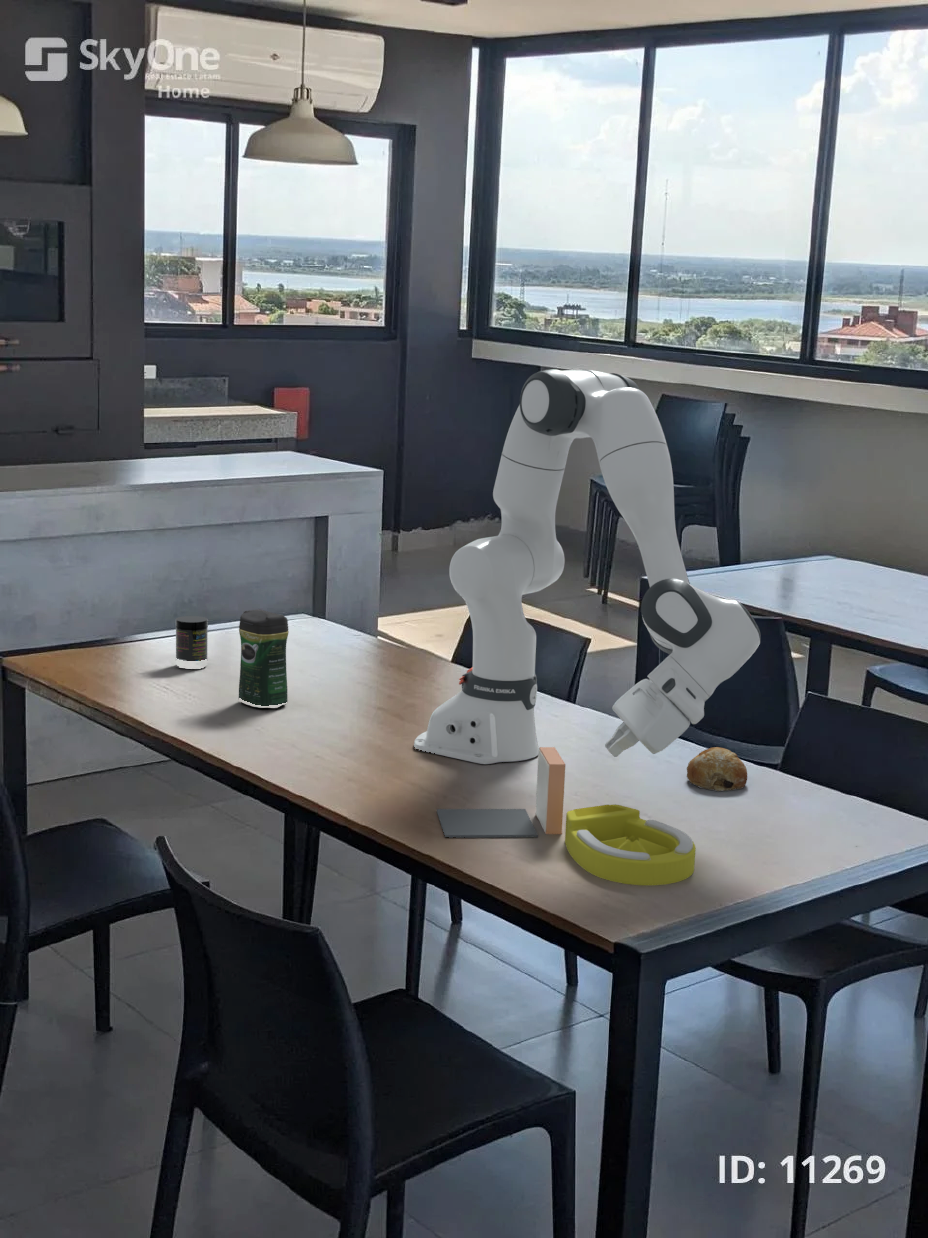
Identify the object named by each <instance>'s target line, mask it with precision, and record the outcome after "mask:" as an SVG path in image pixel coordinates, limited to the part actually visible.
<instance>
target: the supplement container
mask: <svg viewBox="0 0 928 1238" xmlns="http://www.w3.org/2000/svg"><path fill="white" fill-rule="evenodd" d="M208 621H209V620H208V617H205V616H198V615H183V616H179V617H176V618H175V659H176V658H177V659H179V660H183V661H201V660H205V659H207V660H208V639H209V638H208V633H209V632H208V626H209V625H208V624H209V622H208Z"/></svg>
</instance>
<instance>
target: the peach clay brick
mask: <svg viewBox="0 0 928 1238" xmlns="http://www.w3.org/2000/svg"><path fill="white" fill-rule="evenodd" d="M537 756H538V758H537V778H536V794H535V795H536V796H535V816H536V818H537V819H538V821H539V824H540V825H541V828H542V830H543V832H544V833H545V835H562V834H563V833H562V832H563V817H564V816H563V815H564V798H565V796H564V795H565V782H566V781H565V780H566V778H565V777H566V763H565V761H564V759H563V758H562V756H561V755H560V753H559V752H558V750H557V749H556V747H555V746H545V747H544V746H539V754H538V755H537Z"/></svg>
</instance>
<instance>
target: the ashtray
mask: <svg viewBox="0 0 928 1238" xmlns="http://www.w3.org/2000/svg"><path fill="white" fill-rule="evenodd" d="M640 813H641V812H640V810H639V809H636V808H632V807H629V806H625V805H621V804H616V803H615V804H603V805H595V806H589V807H582V808H580V807H579V808H574V809H573V810H572V809H571V810H568V811H567V812H566V814H565V816H566V817H565V831H564V835H565V836H564V842H565V846H566V850H567V852H568V853H569V856H570V857H571V858H572V859H573V860H574V861H575V863H577V865H579V866H580V867H581V868H582V869H583V870H585V871H586V872H587V873H590V874H591V875H593V876H595V877H597V878H600V879H602V880H603V879H604V880H607V881H610V882H615V883H619V884H625V885H634V886H664V885H671V884H674V883H679V882H682V881H684V880H687V879H688V878H689V877H691V876H692V875H693V874H694V871H695V861H696V860H695V859H696V850H697V849H696V848H697V847H696V844H695V843H694V841H693V840H692V838H691V837H690V835H689V834H687V833H686V832H685V831H682V830H681V829H679V828H676V827H674V826H671V825H668V824H667V823H663V822H661V821H658V820H656V819H643V818H641V817H640V815H641V814H640Z"/></svg>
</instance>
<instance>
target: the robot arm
mask: <svg viewBox="0 0 928 1238" xmlns="http://www.w3.org/2000/svg"><path fill="white" fill-rule="evenodd" d="M585 438H590V439H591V440H592V441H593V443H594V446H595V451H596V455H597V461H598V464H599V469H600V472H601V475H602V478H603V481H604V484H605V486H606V488H607V491H608V494H609V496H610V498H611V500H612V501H613V503H614V505H615V507H616V509H617V510H618V512H619V513H620V515H621V516H622V517H623V519H624V521H625V523H626V525H627V526H628V527H629V529H630V531H631V533H632V534H633V536H634V539H635V541H636V544H637V546H638V549H639V552H640V555H641V559H642V563H643V567H644V571H645V574H646V577H647V581H648V582H647V583H648V585H649V588H648V589H646V591H645V593H644V595H643V597H642V600H641V605H640V613H641V616H642V621H643V624H644V625H645V627H646V629H647V631H648V633H649V636H650V639H651V641H652V642H653V643H654V645H655V646H656V647H657V648H658V649H660V651H662V652H664V653H666V654H668V655H667V657H665V658H664V659H663V661H661V662H660V663H659V664H658V665H657V666H656V667H655V668H654V669H653V670H652V671H651V672H650V673H649V674H648V675H647V678H643V679H641V680H640V681H638V682H637V683H635V684H634V685H633V686H632V687H630V689H628V690H627V691H626V692H625V693H623V694H622V695H621V696H620V697H619V698H618V699H617V700H616V701H615V702H614V704H613V705H612V711H613V712H614V713H615V714H616V715H617V717H618V718H620V720H621V721H622V723H621V724H619V725H618V727H617V728H616V730H615V732H614V733H613V734H612V736H611V737H610V739H609V740H608V741H606V742H605V743H604V747H605V748H606V750H607V751H608V752H609V753H610V754H611V756H613V757H614V758H618V757H619V756H620V755H621V754H622V752H625V750H629V748H631V747H634V746H635V745H637V743H638V742H640V743H641V744H642V745H643V746H644V747H645V748H646V749H647V750H648V751H649V753H651V754H652V755H656V754H658V753H660V752H662V751H664V750H666V748H668V747H669V746H670V745H671V744H673V743H674V741H676V740H677V739H678V738H679V737H680V736H682V735H683V734H684V733H685V732H686V731H687V730H688V728H689V727H690V725H691V724H692V725H697V724H698V723H699V722H700V721H701V720H702V719H703V718H704V716H705V709H704V708H705V702H706V701H708V699H709V698H710V697H711V696H712V695H713V694H714V692H715V690H716V688H717V687H718V686H719V685H720V684H722V683H723V682H724V681H727V680H729V679H730V678H731V677H733V675H734V674H736V673H737V672H738V671H739V670H740V668H741V667H743V665H744V664H745V663H746V662H747V661H748V660H749V659H750V658H751V657H752V656H753V654H754V653H756V651H757V649H758V648H759V645H760V644H761V631H760V628H759V626H758V624H757V622H756V621H755V619H754V617H753V616H752V614H751V613H750V612H749V611H748V608H746V607H745V606H744V604H743V603H741V601H738V600H736V599H727V598H722V597H719V596H717V595H712V594H710V593H708V592H706V591H703V590H701V589H699V588H698V587H696V586H695V585H692V584H691V582H690V580H689V577H688V574H687V573H688V572H687V570H686V566H685V561H684V559H683V555H682V551H681V547H680V543H679V540H678V535H677V530H676V528H677V527H676V520H675V519H676V518H675V517H676V516H675V491H674V490H675V489H674V474H673V468H672V467H673V466H672V460H671V455H670V451H669V447H668V443H667V440H666V436H665V433H664V431H663V427H662V424H661V422H660V420H659V418H658V415H657V413H656V411H655V409H654V406H653V404H652V403H651V399H650V398H649V397H648V395H647V394H646V393H645V392H644V391H643V390H641V389H640V387H639V385H638V384H637V383H636V382H635V381H634V380H632V379H631V378H629V377H627V376H625V375H622V374H619V373H616V372H610V373H607V372H605V371H598V370H594V369H565V370H559V369H556V368H554V369H553V368H552V369H545V370H541V371H538V372H537V371H536V372H535V373H533V374H532V375H530V376H529V377H528V378H527V379H526V381H525V382H524V384H523V386H522V388H521V392H520V396H519V405H518V407H517V409H516V411H515V414H514V416H513V418H512V420H511V423H510V426H509V428H508V432H507V434H506V437H505V441H504V444H503V448H502V452H501V456H500V461H499V465H498V469H497V474H496V478H495V482H494V486H493V490H492V491H493V492H492V497H493V501H494V503H495V504H496V505H497V507H498V508H499V509H500V514H501V527H500V528H501V529H500V530H499V533H498V535H495V536H489V537H482V538H478V539H477V538H476V539H475V540H473V541H471V542H469V543H466V545H464V546H462V547H460V548H459V549H457V550H456V551H455V553H454V554H453V555H452V557H451V560H450V563H449V569H448V571H449V572H448V573H449V579H450V582H451V585H452V587H453V589H454V590H455V592H456V593H457V595H459V596H460V597H461V598H462V599H463V601H464V603H465V604H466V608H467V610H468V613H469V617H470V622H471V628H472V667H471V668H469V669H468V670H466V673H463V674H462V675H461V677H460V678H458V680H459V682H458V685H459V686H460V685H461V691H459V692H458V693H456V694H455V695H453V696H452V697H450V698H449V699H447V700H446V701H445V702H443V703H441V704H440V705H439V706H438V707H437V708H435V709H434V711H433V712H431V713H432V714H431V715H430V718H429V721H428V725H427V730H426V731H424V732H422V733H420V734H419V735H417V737H416V738H415V739H414V741H413V748H414V747H415V748H416V749H419V750H418V751H420V750H422V751H421V752H425V751H426V752H425V753H429V752H431V754H434V753H435V754H434V755H438V756H445V757H448V758H452V759H458V760H462V761H466V762H471V763H475V764H481V765H490V764H495V763H496V764H497V763H502V762H503V763H504V762H506V763H507V762H519V761H526V760H530V759H533V758H535V757H537V756H538V754H539V748H540V745H539V741H538V736H537V729H536V722H535V721H536V718H535V706H536V703H537V696H538V695H537V694H538V683H537V681H538V679H537V677H538V676H537V674H536V651H537V650H536V648H537V633H536V630H535V629H534V627H533V626H532V625H531V624H530V623H529V622H528V620H527V618H526V617H525V613H524V609H523V604H522V603H523V602H522V599H523V595H528V594H533V593H538V592H541V591H542V590H544V589H545V588H547V587H549V586H551V585H552V584H554V583H555V582H557V581H558V580H559V578H560V577H561V575H562V574H563V572H564V568H565V562H566V558H565V552H564V550H563V547H562V545H561V544H560V542H559V541H558V539H557V535H556V534H557V532H556V512H557V511H556V510H557V504H558V500H559V495H560V491H561V487H562V486H561V485H562V482H563V478H564V473H565V469H566V466H567V465H566V464H567V460H568V456H569V455H568V454H569V452H570V451H569V450H570V448H571V445H572V444H573V441H574V440H575V439H585ZM415 748H414V749H415ZM416 749H415V750H416Z"/></svg>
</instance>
